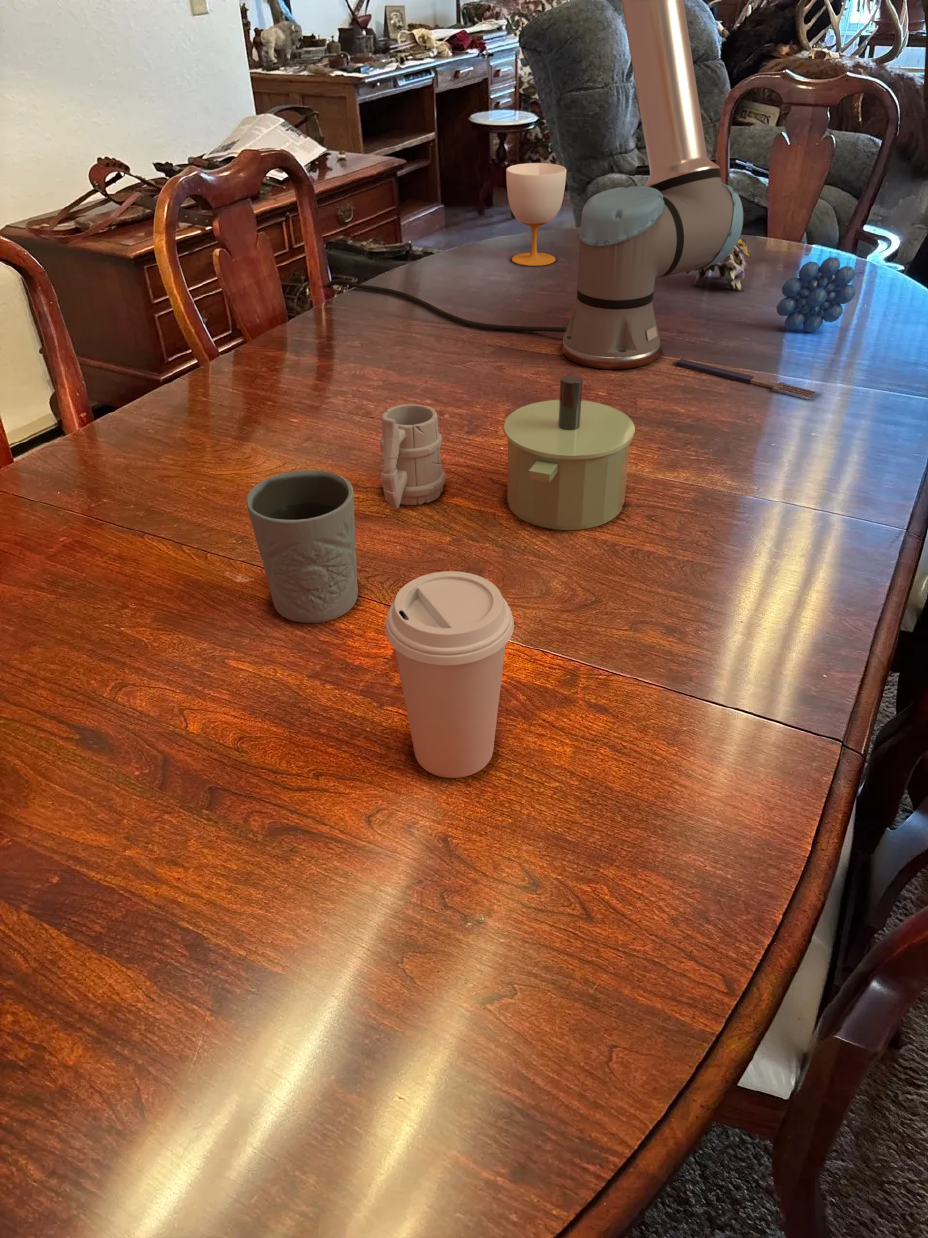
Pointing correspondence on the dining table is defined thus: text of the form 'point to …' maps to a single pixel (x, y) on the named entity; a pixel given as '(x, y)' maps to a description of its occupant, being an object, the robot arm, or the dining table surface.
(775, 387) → the spatula
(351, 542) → the embossed gray tumbler
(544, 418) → the pot lid
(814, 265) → the grapes
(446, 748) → the coffee cup
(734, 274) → the passion flower
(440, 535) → the dining table surface
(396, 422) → the mug
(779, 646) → the dining table surface
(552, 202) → the cup
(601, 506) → the pot
